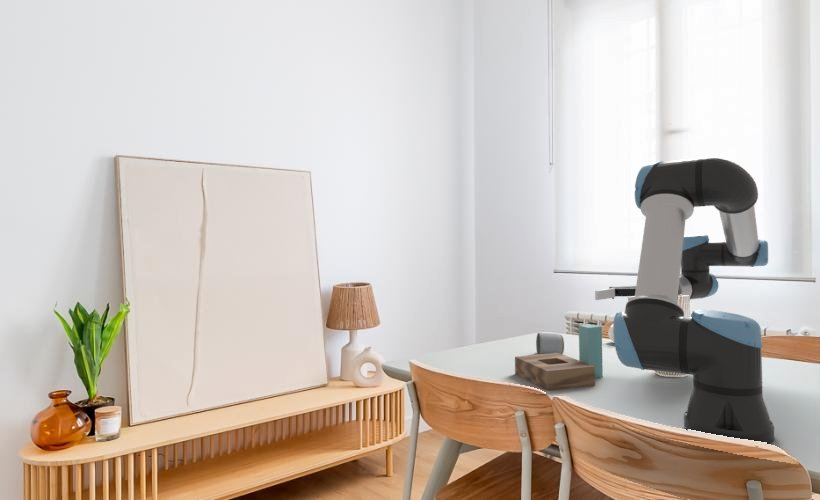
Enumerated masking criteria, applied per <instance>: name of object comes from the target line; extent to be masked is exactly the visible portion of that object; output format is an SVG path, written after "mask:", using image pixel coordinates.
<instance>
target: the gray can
mask: <svg viewBox="0 0 820 500" xmlns="http://www.w3.org/2000/svg"><path fill="white" fill-rule="evenodd" d="M564 340H565V339H564V337H563V335H562V334H560V333H550V332H548V333H547V332H537V334H536V341H535V343H536V344H535V346H536V355H540V354H551V353H559V354H562V355H564V351H565V341H564Z"/></svg>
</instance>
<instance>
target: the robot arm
mask: <svg viewBox="0 0 820 500" xmlns="http://www.w3.org/2000/svg"><path fill="white" fill-rule="evenodd" d="M634 188H635V189H634V201H635V205H636V207H637V208H638V209H639V210H640V212H641V214H642V215H643V216H644V217H645V221H644V228H643V235H642V243H641V250H640V256H639V265H638V271H637V279H636V284H635V285H627V286H626V285H623V286H622V285H621V286H609V287H608V288H605V289H598V290H595V291H594V295H595V296H594V298H595V300H596V301H601V300H606V299H612V300H614V299H615V298H616V297H627V302H626V303H625V307H624V308H625V309H624V311H620V312H617V313H616V314H615V315H614V317H613V323H612V324H613V334H614V342H613V343H614V347H615V352H616V355H617V359H618V360H619V361H620V364H622V365H624V366H625V367H629V368H634V369H640V370H642V371H644V370H646V371H647V370H648V371H657V372H665V373H675V374H683V375H691V376H692V380H693V381H692V383H693V385H692V386H693V387H692V392H691V395H690V398H689V401H688V405H687V409H686V410H685V412H684V414H683V427H684V428H685V427H686V428H685V430H687V429H691V430H696V431H701V432H705V433H711V434H716V435H723V436H727V437H734V438H740V439H748V440H754V441H761V442H767V443H768V444H770V442H771V441H772V442H774V440H775V426H774V424H773V422H772V420H771V418H770V415H769V412H768V407H767V405H766V403H765V400H764V396H763V393H764V392H763V362H762V361H763V360H762V359H763V358H762V355H763V354H762V348H764V343H763V341H762V331H761V330H762V328H761V325H760V324H759V323H758V321H756V319H755V320H754V319H753V318H750V317H748V316H744V315H741V314H737V313H731V312H727V311H722V310H721V311H719V310H714V309H711V310H708V309H694V310H692V312H691V314H690V316H685V311H684V309H683V308H682V307H681V306H680V305H679V303H677V299H678V294H682V295H689V296H690V300H696V299H704V298H709V297H712V296H713V295H715V294H716V293H717V292H718V289H719V281H718V280H717V277H716V275H715V274H713V273H712V272H710V267H750V268H754V267H765V266H767V265H768V264H769V243H768V241H767V240H765V239H759V235H758V228H757V227H758V226H757V219H756V218H757V217H756V212H755V209H756V208H755V205H756V203H757V201H758V200H759V199H758V198H759V190H758V186H757V183H756V181H755V179H754V177H752V175H751V174H750V173H749V172H748V171H747V170H746V169H745V168H744V167H742V166H740V164H737V163H736V162H734V161H732V160H729V159H727V158H724V157H718V156H705V157H697V158H688V159H676V160H666V161H663V160H660V161H655V162H651V163H647V164H645V165H643V166H642V167H641V168H640V169H639V171H638V173H637V176H636V177H635V183H634ZM696 207H697V208H700V207H714V208H715V209H716V210H717V211H718V212H719V217H720V220H721V221H720V222H721V226H722V229H723V235H724V238H725V240H710V239H709V235H707V234H706V233H705V234H703V233H702V234H701V233H696V234H686V235H685V229H686V228H685V227H686V221H687V220H688V219H689V218H691V217H692V216H693V214H694V211H695V208H696ZM772 442H771V443H772Z"/></svg>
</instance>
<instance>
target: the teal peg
mask: <svg viewBox="0 0 820 500" xmlns="http://www.w3.org/2000/svg"><path fill="white" fill-rule="evenodd" d="M578 353H579V355H578V356H579V359H578V360H579V361H581V362H584V363H587V364H590V365H592V366H595V378H603V377H604V376H603V373H604V371H603V328H602V326H600V325H596V324H582V325H581V324H579V325H578Z"/></svg>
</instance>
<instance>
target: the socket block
mask: <svg viewBox="0 0 820 500" xmlns="http://www.w3.org/2000/svg"><path fill="white" fill-rule="evenodd" d="M514 374H515V375H516V376H519V377H521V378H522V379H524V380H527V381H528V382H530V383H532V384H534V385H536V386H538V387H540V388H541V389H544V390H546V391H556V390H564V389H573V388H582V387H583V388H584V387H592V386H596V377H595V366H592V365H590V364H587V363H584V362H581V361H579V359H575V358H573V357H570V356H568V355H564V354H559V353H551V354H540V355H538V354H529V355H517V356H514Z"/></svg>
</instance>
